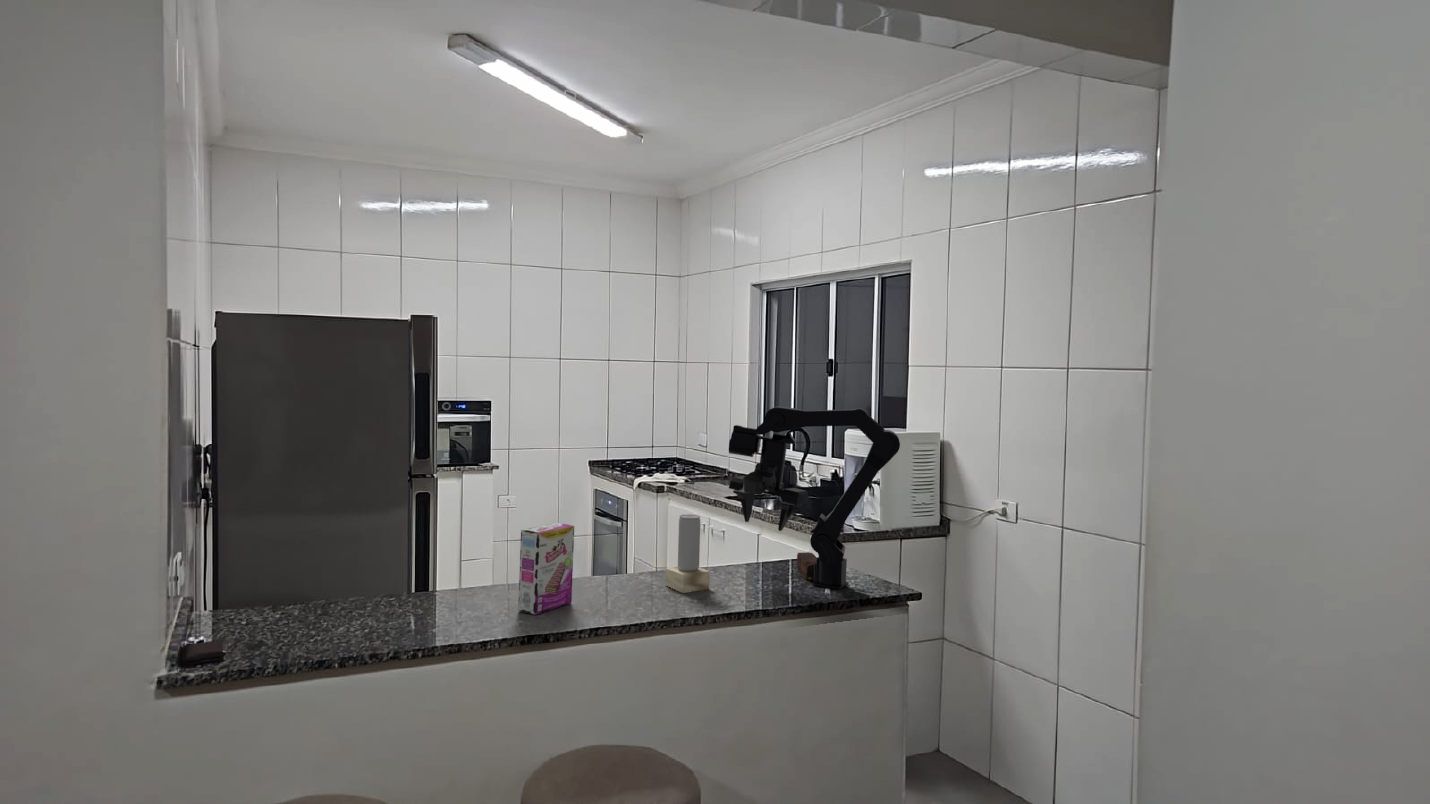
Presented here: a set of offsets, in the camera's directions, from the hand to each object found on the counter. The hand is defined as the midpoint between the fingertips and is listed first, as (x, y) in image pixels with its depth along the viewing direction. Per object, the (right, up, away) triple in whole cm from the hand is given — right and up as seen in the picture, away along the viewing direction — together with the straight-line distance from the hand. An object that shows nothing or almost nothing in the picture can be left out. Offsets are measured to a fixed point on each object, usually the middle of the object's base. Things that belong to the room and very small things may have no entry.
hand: (763, 526), depth 206 cm
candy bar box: (-45, -13, -27) cm, 54 cm away
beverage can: (-17, -9, -8) cm, 21 cm away
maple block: (-17, -13, -8) cm, 23 cm away
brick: (+11, -13, +6) cm, 19 cm away
